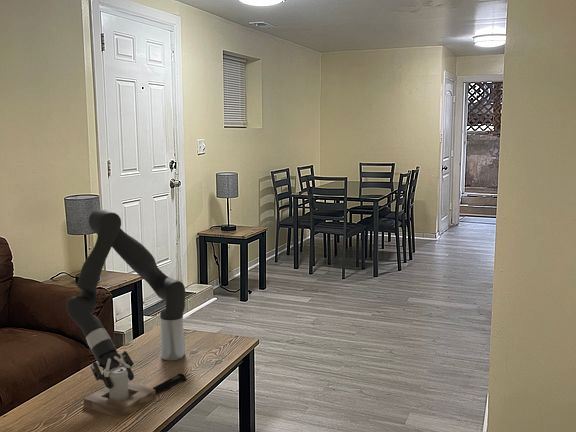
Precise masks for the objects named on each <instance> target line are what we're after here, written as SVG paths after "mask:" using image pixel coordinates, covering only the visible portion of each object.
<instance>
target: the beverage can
mask: <svg viewBox="0 0 576 432" xmlns="http://www.w3.org/2000/svg"><path fill="white" fill-rule="evenodd" d="M107 377H109V378H110V380H111V382H112V384H113V387H112V388H111V389H109V399H111V400H115V401H118V402H122V401H124V400H125V399H127V398H129V396H128V382H129V379H128V372H127V371H126V368H125V367H115V368H113V369H110V370H109V371H108V376H107Z"/></svg>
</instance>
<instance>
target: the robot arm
mask: <svg viewBox="0 0 576 432" xmlns="http://www.w3.org/2000/svg"><path fill="white" fill-rule="evenodd" d="M88 224H89V227H90V230H91V231H92V232H94V233H95V234H96V235H97V236H96V237H97V239H96V241H95V244H94V246H93V248H92V250H91V252H90V254H88V256H87V258H86V259H85V261H84V263H83V264H82V267H81V270H80V273H79V276H78V278H77V283H76V287H77V288H78V289H79V290H81V291H80V295H79V296H77V295H75V296H72V297H70V298H68V300H67V302H66V304H65V307H66V309H65V310H66V313H67V314H68V316H69V317H70V319H71V320H72V321H73V322H74V323H75V324H76V325H77V327H79V328H80V330H81V332H82V335H83V336H84V337H85V340H86V342H87V344H88V345H87V346H89V349H90V351H91V353H92V354H93V356H94V359H95V360H96V361H93V362H92V364H91V365H90V369H91V372H92V374H93V376H94V378H95V380H96V381H102V382H103V383H104V385H105V387H107V388H109V389H111V388H112V387H113V384H112V382H111V380H110V378H109V376H108V374H109V370H110V369H113V368H115V367H125V368H126V371H127V372H128V381H133V379H134V378H135V374H134V372H133V371H132V369H131V368H132V367H133V366H134V365H135V364H134V361H133V360H132V358H131V356H130V355H129V353H128V352H127V351H126V350H124V351H123V352H122V353H119V352H118V351H117V348H116V345H115V344H114V342H113V340H112V338H111V337H110V334H109V333H108V331H107V330H106V329H105V327H104V325H103V323H102V321H101V320H100V319H99V317H98V316H96V315H94V314H93V312H94V310H95V309H96V305H97V293H98V292H97V290H98V289H97V288H98V284H99V281H100V278H101V275H102V271H103V268H104V265H105V263H106V260H107V257H108V255H109V254H110V252H111V249H113V250H114V251H115V252H116V253H117V254H118V255H119V256H120V258H121V259H122V260H123V261H124V262H125V263H126V264H127V266H129V267H130V269H132V271H134V272H135V273H136V274H137V275H138V276H139V277H140V278H142V279H143V280H144V281H145V282H146V283H147V284H148V285H149V287H151V289H152V290H153V291H154V293H155V294H156V296H157V297H158V298H160V300H163V301H165V308H162V309H161V310H160V312H159V314H160V315H159V316H160V318H159V319H160V320H159V321H160V322H159V323H160V353H161V354H160V357H161V359H162V360H165V361H177V360H180V359H182V358H184V356H185V354H186V346H185V345H186V344H185V343H186V342H185V340H186V338H185V337H186V336H185V332H184V312H185V307H186V288H185V284H184V283H183V282H182V281H180V280H177V279H173V278H171V277H169V276H167V275H166V274H165V273H163V271H162V270H160V268H159V266H158V265H157V262H156V259H155V257H154V256H153V254H152V253H151V252H150V251H149V250H148V249H147V248H146V247H145V246H144V244H142V243H140V242H139V241H138V240H137V239H135V238H134V237H132V236H131V235H129V234H128V233H127V232H125V231H124V230H123V229H122V228H121V226H122V218H121V217H120V215H119V214H117V213H116V212H113V211H110V210H106V209H97V210H94V211H92V212H91V213H90V215H89V217H88ZM100 368H102V370H101V369H100Z"/></svg>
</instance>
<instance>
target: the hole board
mask: <svg viewBox="0 0 576 432" xmlns="http://www.w3.org/2000/svg"><path fill="white" fill-rule="evenodd" d="M128 396H129V398H127V399H125V400H124V401H122V402H118V401H115V400H111V399H109V388H107V387H106V386H104V387H103V388H101V389H99V390H97V391H95V392H93V393H91V394H89V395H87V396H86V397H84V398H83V399H82V400H83V408H87V409H90V410H93V411H96V412H100V413H103V414H105V415H106V414H107V415H109V416H112V417H115V418H118V419H123V418H125V417H126V416H127V415H130V414H131V413H132V412H134V411H136V410H137V409H140V408H141V407H143V406H144V405H146V404H148V403H149V402H151V401H153V400H154V399H156V392H155V389H153V388H151V387H147V386H143V385H140V384H136V383H132V382H129V381H128Z"/></svg>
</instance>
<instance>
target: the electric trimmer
mask: <svg viewBox="0 0 576 432" xmlns="http://www.w3.org/2000/svg"><path fill="white" fill-rule="evenodd" d="M186 381H187V377H186V375H185V374H183V373H177V374H176V375H175V376H173V377H171V378H169V379H167V380H165V381H163V382H161V383H158V384H157V385H156V386H154V387H152V389H155V393H157V394H158V393H161V392H163V391H166V390H170V389H171V388H172V387H173V386H175V385H177V384H179V383H181V382H186Z"/></svg>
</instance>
